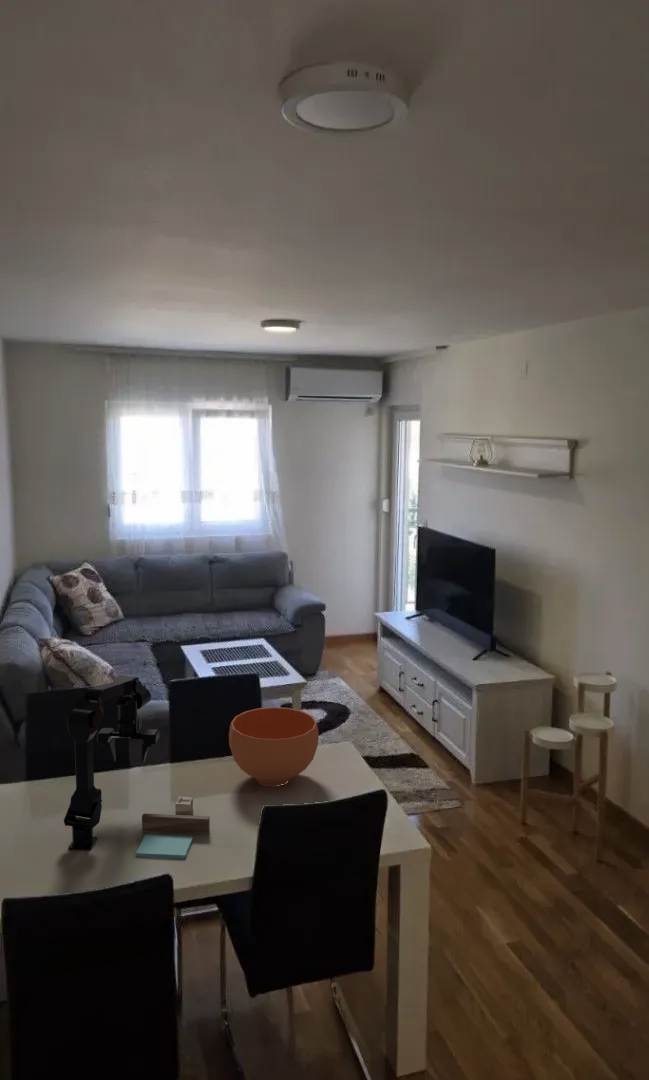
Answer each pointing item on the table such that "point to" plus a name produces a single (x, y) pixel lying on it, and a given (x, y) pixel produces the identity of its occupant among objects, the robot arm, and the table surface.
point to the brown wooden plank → (176, 824)
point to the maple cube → (184, 806)
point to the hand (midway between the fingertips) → (128, 761)
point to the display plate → (164, 846)
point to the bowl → (273, 743)
